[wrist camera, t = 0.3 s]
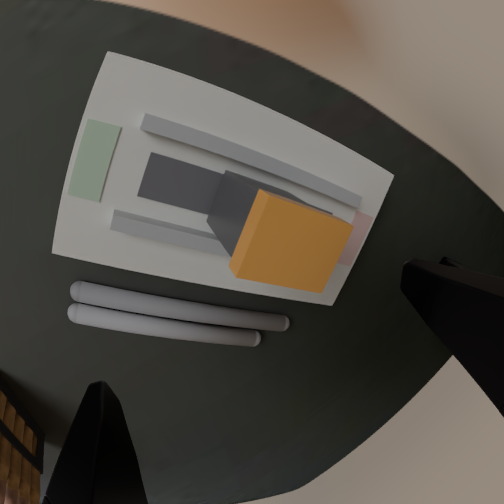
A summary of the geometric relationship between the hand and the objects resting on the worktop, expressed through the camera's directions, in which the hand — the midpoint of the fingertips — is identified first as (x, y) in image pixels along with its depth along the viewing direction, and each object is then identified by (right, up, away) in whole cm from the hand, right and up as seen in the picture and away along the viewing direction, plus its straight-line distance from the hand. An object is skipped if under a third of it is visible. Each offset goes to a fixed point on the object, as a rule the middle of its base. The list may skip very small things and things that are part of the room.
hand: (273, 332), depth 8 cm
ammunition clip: (-23, -12, +13) cm, 29 cm away
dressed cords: (-5, -2, +15) cm, 16 cm away
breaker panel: (-2, +6, +13) cm, 14 cm away
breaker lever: (-1, +5, +10) cm, 11 cm away
